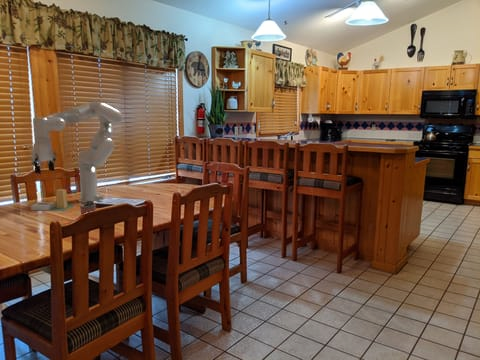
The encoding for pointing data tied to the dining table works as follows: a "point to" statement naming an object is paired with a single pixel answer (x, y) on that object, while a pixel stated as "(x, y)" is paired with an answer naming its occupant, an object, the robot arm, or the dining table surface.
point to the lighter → (87, 206)
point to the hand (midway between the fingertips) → (44, 171)
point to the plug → (61, 198)
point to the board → (48, 206)
